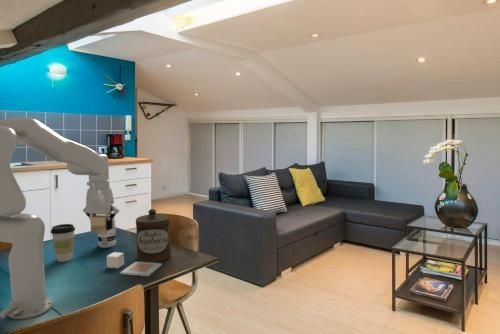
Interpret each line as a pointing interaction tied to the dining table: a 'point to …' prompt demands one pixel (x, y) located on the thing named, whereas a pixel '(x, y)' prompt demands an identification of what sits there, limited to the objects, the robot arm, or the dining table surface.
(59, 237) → the coffee cup
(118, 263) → the cream block
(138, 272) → the white orange square board
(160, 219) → the wooden container
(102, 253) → the dining table surface
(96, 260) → the dining table surface
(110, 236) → the supplement can
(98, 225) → the oak block
